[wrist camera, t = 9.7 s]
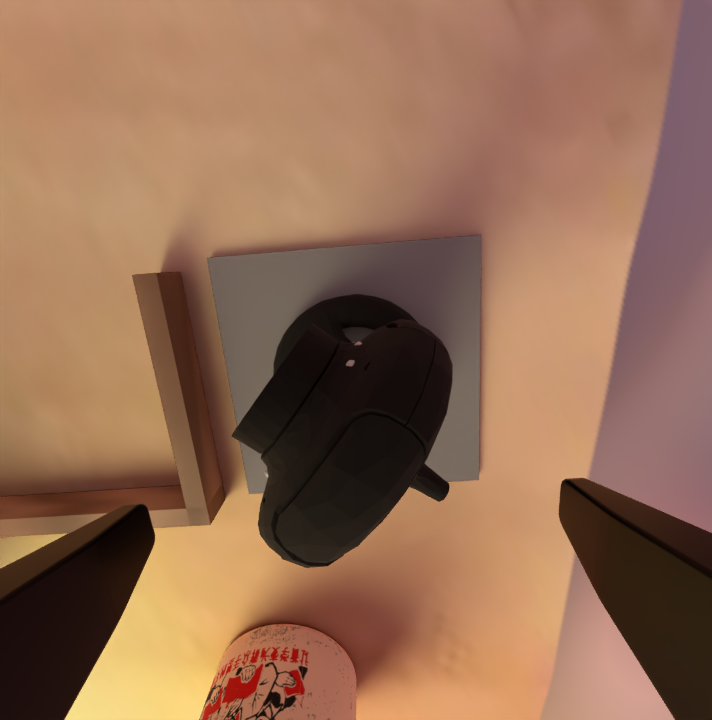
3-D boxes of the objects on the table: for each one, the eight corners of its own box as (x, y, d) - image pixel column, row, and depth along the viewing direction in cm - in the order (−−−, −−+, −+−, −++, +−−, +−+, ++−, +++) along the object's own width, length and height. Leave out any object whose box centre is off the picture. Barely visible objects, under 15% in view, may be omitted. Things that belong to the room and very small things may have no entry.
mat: (251, 489, 19) (249, 493, 19) (210, 258, 16) (206, 257, 16) (476, 475, 19) (478, 479, 18) (478, 235, 16) (481, 234, 15)
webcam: (338, 256, 16) (300, 241, 6) (468, 354, 17) (614, 474, 7) (245, 390, 17) (100, 547, 8) (369, 472, 18) (377, 700, 9)
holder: (-40, 515, 20) (-84, 542, 18) (-132, 297, 17) (-196, 302, 15) (225, 498, 19) (210, 525, 18) (180, 271, 16) (156, 272, 14)
